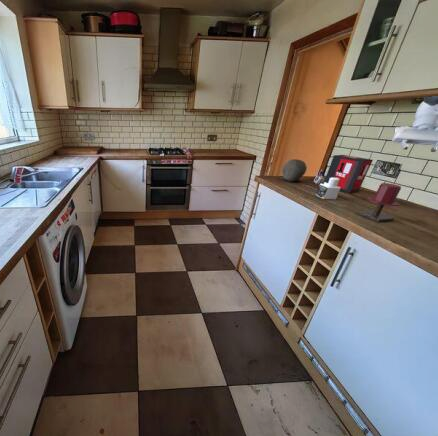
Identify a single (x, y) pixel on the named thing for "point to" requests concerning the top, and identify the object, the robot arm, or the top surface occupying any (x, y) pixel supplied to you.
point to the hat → (386, 194)
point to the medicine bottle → (328, 188)
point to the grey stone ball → (294, 170)
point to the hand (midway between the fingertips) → (419, 149)
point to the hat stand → (376, 214)
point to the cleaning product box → (349, 171)
